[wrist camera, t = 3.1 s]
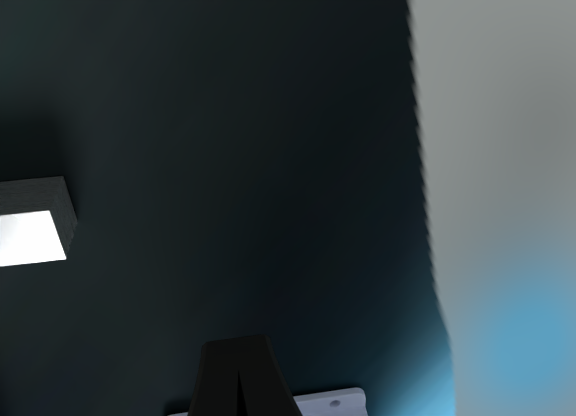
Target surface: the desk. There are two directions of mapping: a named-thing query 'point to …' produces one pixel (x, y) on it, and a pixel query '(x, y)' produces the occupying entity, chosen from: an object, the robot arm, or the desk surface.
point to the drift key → (35, 220)
